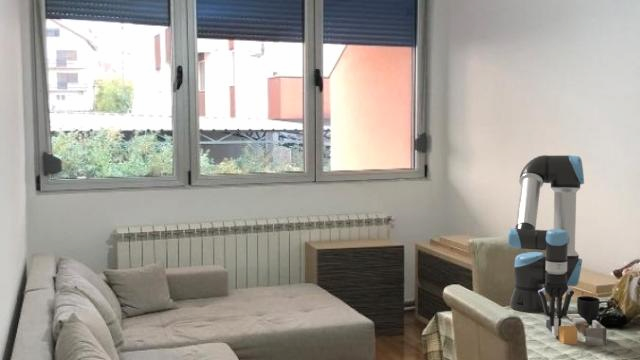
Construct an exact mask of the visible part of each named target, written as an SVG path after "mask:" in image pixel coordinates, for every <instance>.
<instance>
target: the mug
mask: <svg viewBox="0 0 640 360" xmlns="http://www.w3.org/2000/svg"><path fill="white" fill-rule="evenodd" d="M602 303H603V304H604V303H605V304H606V303H607V307H606V309H605V311H604V312H602V314H601V316H602V315H604V316H605V315H606V314H607V312H608V311H609V309H610V307H611V302H610V301H608V300H601V301H600V299H599V298H598V297H594V296H589V295H582V296H577V298H576V307H577V314H579V315H580V316H581V317H582V318H584V319H585V320H586V321H587V324H588V325H592V320H596V321H597V322H600V321H601V320H600V317H601V316H599V312H600V305H601V304H602Z"/></svg>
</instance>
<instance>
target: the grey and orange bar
mask: <svg viewBox="0 0 640 360" xmlns="http://www.w3.org/2000/svg"><path fill="white" fill-rule="evenodd" d="M545 322H546V323H545V324H546V325H545V327H546V328H547V329H548V331H550V333H552V326H551V325H550V319H546V320H545ZM578 332H579V331H578V330H577V329H576V328H575V327H574V325H561V326H558V336H555V337H556V338H557V339H558V340H559V341H560V342H561V343H562V344H563V345H568V344H569V345H570V344H571V345H572V344H573V345H577V344H578V335H579V333H578Z"/></svg>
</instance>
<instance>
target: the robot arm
mask: <svg viewBox="0 0 640 360" xmlns="http://www.w3.org/2000/svg"><path fill="white" fill-rule="evenodd" d="M584 176H585V175H584V167H583V161H582V158H581V157H580V156H579V155H545V154H544V155H538V156H536V157H534V158H533V159H531V160H530V161H528V163H526V165H525V166H524V167H523V169H522V170H521V172H520V176H519V180H518V181H519V185H520V192H519V198H518V206H517V207H518V208H517V212H516V220H515V221H516V222H515V228H510V229H509V231H508V235H507V236H508V237H507V242H508V243H507V244H508V246H509V247H510V248H512V249H519V250H539V251H529V252H523V253H520V254H517V255H516V256H515V258H514V265H513V266H514V289H513V292H512V295H511V297H510V301H509V307H510V308H511V309H512V310H515V311H518V312H526V313H540V312H544V315H545V316H546V317H549V320H550V325H551V326H552V332H551V334H552V335H553V336H555V337H556V336H558V326H562V318H563V317H567V314H568V311H569V309H570V303H571V300H572V297H573V295H574V294H575V291H574V290H572V289H570V288H569V287H573V288H574V287H577V286H578V285H579V281H580V278H581V277H580V276H581V272H582V265H583V259H582V258H580V257H579V255H580V254H579V253H578V252H577V251H576V221H577V220H576V217H577V216H576V215H577V213H576V212H577V192H578V191H580V189H581V185H584V184H585V177H584ZM544 184H550V188H551V189H552V191H553V193H554V194H553V195H554V196H553V197H554V199H553V200H554V201H553V228H552V229H549V230H548V229H547V230H546V229H545V230H544V229H536V227H537V218H538V210H539V201H540V195H541V194H540V193H541V192H540V191H541V189H542V187H543V186H544ZM540 250H541V251H545V255H544V253H543V252H540ZM546 293H547V294H548V298H549V304H548V302H547V297H546ZM564 295H565V296H564ZM563 296H564V300H563ZM548 305H549V306H548ZM555 306H556V307H555ZM555 308H556V309H555ZM555 312H556V313H555Z"/></svg>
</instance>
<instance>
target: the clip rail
mask: <svg viewBox="0 0 640 360" xmlns="http://www.w3.org/2000/svg"><path fill="white" fill-rule="evenodd" d="M566 317H567V318H568V319H569V320H571V321H572V322H573V326H574V327H575V328H576V329H577V330H578V332H579V333H581V334H582V335H583V336H584V337H585V341H584V342H585V346H607V336H608V335H607V330H608V329H607V328H606V327H605V326H604V325H602V324H601V323H600V321H598V322H597V321H596V320H592V324H591V327H590V324H587V321H586V320H585V319H584V318H582V317H581V316H580V315H579V314H578V313H567V315H566Z"/></svg>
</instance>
